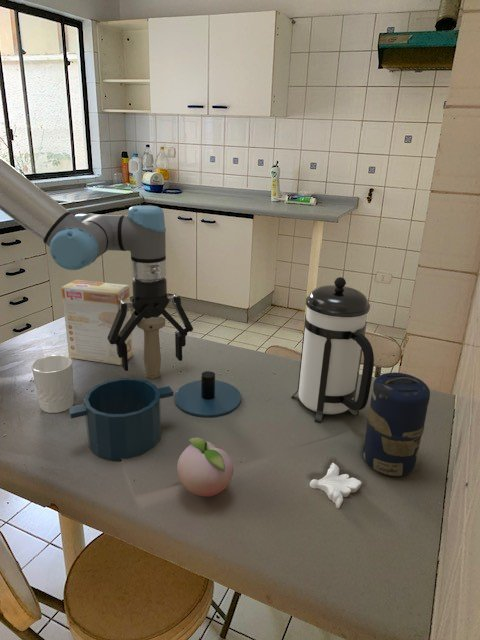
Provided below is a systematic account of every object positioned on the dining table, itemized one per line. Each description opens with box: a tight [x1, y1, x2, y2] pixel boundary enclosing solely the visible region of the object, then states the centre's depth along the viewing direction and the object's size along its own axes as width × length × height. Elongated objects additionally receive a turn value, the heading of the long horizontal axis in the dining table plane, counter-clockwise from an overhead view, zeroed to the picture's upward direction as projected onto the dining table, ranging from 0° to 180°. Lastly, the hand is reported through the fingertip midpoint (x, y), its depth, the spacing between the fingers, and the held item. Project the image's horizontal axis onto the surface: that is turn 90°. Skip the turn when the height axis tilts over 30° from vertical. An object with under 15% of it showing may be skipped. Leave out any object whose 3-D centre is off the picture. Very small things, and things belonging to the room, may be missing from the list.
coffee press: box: [291, 276, 375, 424], centre depth 96 cm, size 17×16×30 cm
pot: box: [68, 377, 174, 462], centre depth 88 cm, size 14×19×10 cm
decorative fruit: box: [176, 437, 235, 497], centre depth 75 cm, size 9×8×10 cm
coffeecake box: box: [61, 279, 134, 366], centre depth 118 cm, size 15×7×20 cm, turn 77°
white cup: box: [31, 354, 75, 414], centre depth 98 cm, size 8×8×10 cm
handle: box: [136, 316, 166, 380], centre depth 109 cm, size 5×6×15 cm
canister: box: [362, 372, 431, 477], centre depth 83 cm, size 10×10×18 cm
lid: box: [174, 370, 242, 418], centre depth 102 cm, size 15×15×7 cm
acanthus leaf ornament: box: [309, 462, 362, 510], centre depth 79 cm, size 8×7×2 cm
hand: (152, 363), depth 111 cm, fingers open, 12 cm apart
